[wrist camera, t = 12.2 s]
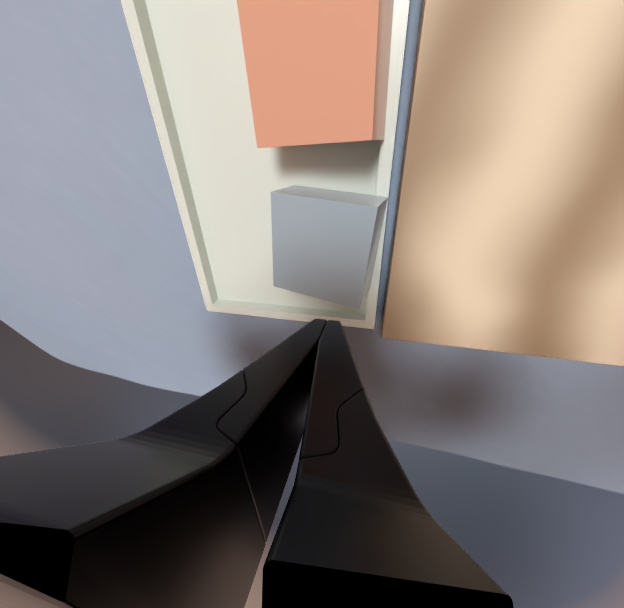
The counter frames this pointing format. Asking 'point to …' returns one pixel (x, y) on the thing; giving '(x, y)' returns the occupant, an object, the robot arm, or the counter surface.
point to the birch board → (513, 181)
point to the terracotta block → (317, 69)
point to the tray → (244, 156)
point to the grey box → (325, 242)
